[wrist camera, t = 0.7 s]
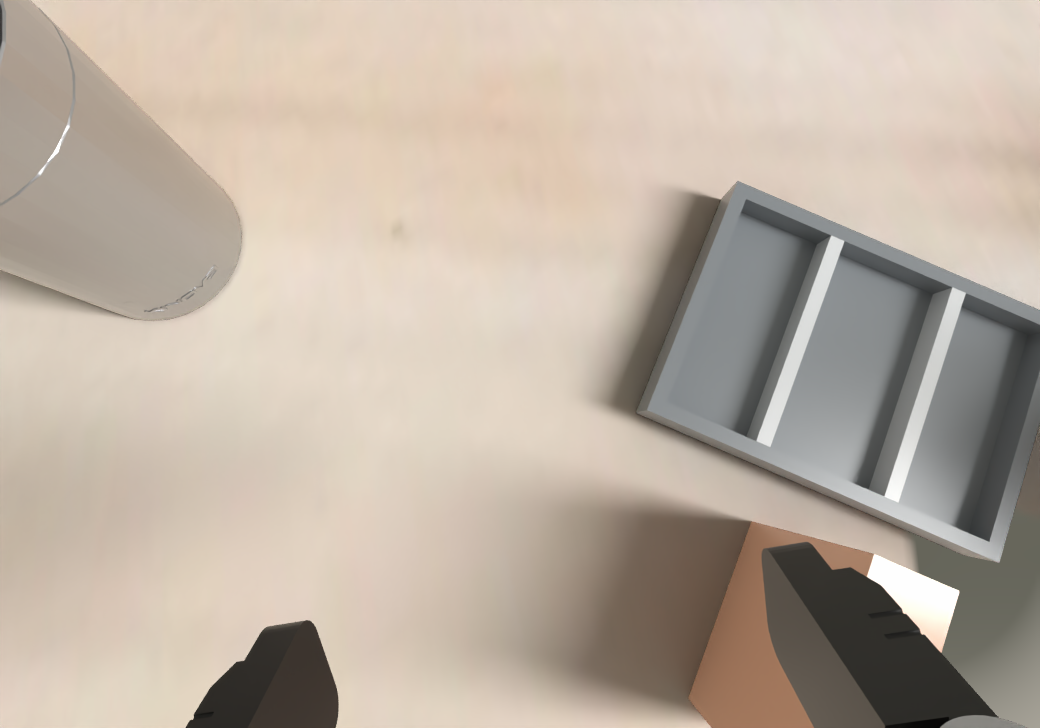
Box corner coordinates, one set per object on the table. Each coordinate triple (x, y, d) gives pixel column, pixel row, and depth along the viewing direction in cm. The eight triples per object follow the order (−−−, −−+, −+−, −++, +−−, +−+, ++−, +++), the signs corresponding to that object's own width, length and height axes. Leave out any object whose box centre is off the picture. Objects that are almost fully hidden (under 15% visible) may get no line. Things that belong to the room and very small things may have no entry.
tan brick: (748, 724, 32) (878, 862, 22) (687, 698, 32) (787, 822, 22) (809, 546, 34) (959, 591, 23) (751, 521, 34) (874, 554, 23)
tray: (962, 554, 34) (999, 562, 32) (635, 413, 34) (646, 409, 32) (1029, 331, 36) (1069, 322, 34) (721, 199, 37) (737, 180, 34)
